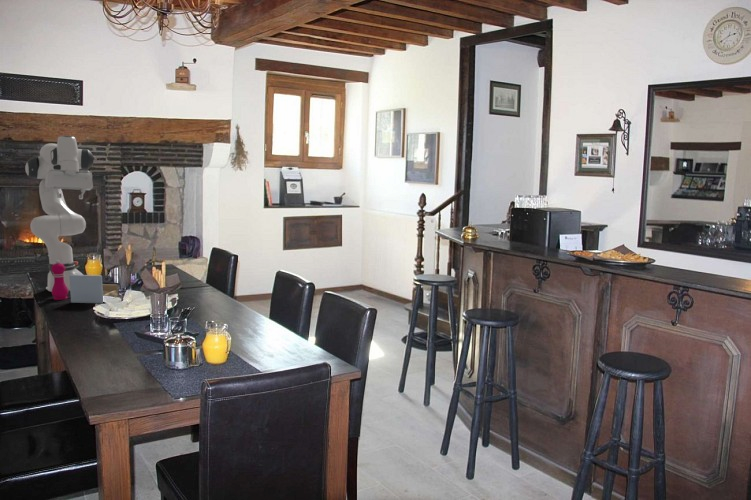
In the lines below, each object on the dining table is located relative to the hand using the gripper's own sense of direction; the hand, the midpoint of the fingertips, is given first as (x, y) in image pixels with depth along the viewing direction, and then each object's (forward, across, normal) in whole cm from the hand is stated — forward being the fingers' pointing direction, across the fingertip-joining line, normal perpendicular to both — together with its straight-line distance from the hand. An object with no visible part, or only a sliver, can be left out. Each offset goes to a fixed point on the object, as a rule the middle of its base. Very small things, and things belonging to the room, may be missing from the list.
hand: (70, 198), depth 302 cm
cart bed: (+47, -13, -14) cm, 51 cm away
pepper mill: (+45, -1, -26) cm, 52 cm away
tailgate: (+48, -8, -9) cm, 49 cm away
